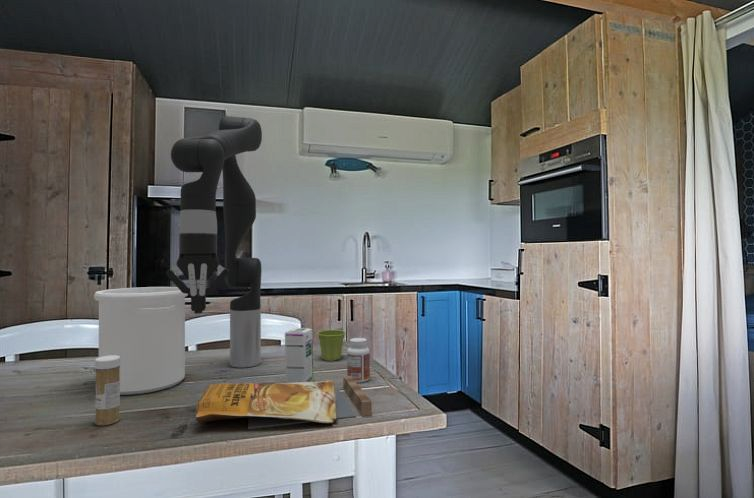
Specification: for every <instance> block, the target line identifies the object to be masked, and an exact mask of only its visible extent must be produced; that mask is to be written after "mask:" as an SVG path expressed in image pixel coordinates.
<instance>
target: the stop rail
mask: <svg viewBox="0 0 754 498" xmlns="http://www.w3.org/2000/svg"><path fill="white" fill-rule="evenodd" d="M342 379H343V381H342V382H343V386H342V388H343V390H344V391H345V393H346V394H347V396H348V397H349V399H350V400H351V401H352V403H353V405H354V406H355V408H356V409H357V410H358V412H359V413H360V415H361V416H362V417H369V416H372V413H373V411H372V407H373V405H372V403H373V402H372V401H371V399H370V398H369V396H368V395H367V394H366V393H365V392H364V390H363V389H362V388H361V386H360V385H359V384H358V383H356V382H355V380H354V379H353V378H352V377H351V376H347V375H346V376H342Z"/></svg>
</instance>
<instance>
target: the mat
mask: <svg viewBox="0 0 754 498" xmlns="http://www.w3.org/2000/svg"><path fill="white" fill-rule="evenodd" d="M335 394H336V410H337V419H336V420H341V419H352V418H356V416H357V415H356V414H355V413H354V411H353V410H352V408H351V406H350V404H349V403H348V401H347V400H346V398H345V397H344V395H343V394H342V392H341V390H340V389H339V388H338V386H337V387H335ZM247 422H248V423H247V430H251V429H262V428H270V427H278V426H279V427H280V426H288V425H298V424H304V423H305V424H307V423H315V422H314V421H308V420H300V419H285V418H278V417H262V416H255V417H247Z"/></svg>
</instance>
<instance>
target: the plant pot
mask: <svg viewBox="0 0 754 498" xmlns="http://www.w3.org/2000/svg"><path fill="white" fill-rule="evenodd" d="M346 332H347V331H345V330H341V329H325V330H320V331H318V332H316V335H317V337H318V339H319V344H320V346H319V347H320V351H321V352H320V353H321V359H322V360H324V361H327V362H335V361H336V360H338V361H339V360H341V359H342V352H343V351H342V350H343V344H344V339H345V335H346Z"/></svg>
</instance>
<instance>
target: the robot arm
mask: <svg viewBox="0 0 754 498" xmlns="http://www.w3.org/2000/svg"><path fill="white" fill-rule="evenodd" d="M262 133H263V131H262V126H261V124H260V122H259V121H258V120H257V119H254V118H251V117H240V116H228V115H225V116H222V117H221V118H220V120H219V123H218V130H213V131H211V132H208V133H206V134H203V135H198V136H189V137H183V138H180V139H178V140H177V141H176V142H175V143H174V144H173V145H172V147H171V149H170V159H171V162H172V164H173V165H174V167H175V168H176V169H177V170H179V171H181V172H184V173H201V175H200V177H199V178H198V179H196V180H195V181H191V182H187V183H183V185H182V186H181V188H180V212H179V213H180V214H179V220H178V222H179V223H178V225H179V226H178V232H179V233H178V236H179V237H178V242H179V243H178V245H179V247H178V249H179V250H178V252H179V253H178V258H177V261H176V265H174V266H173V267H171V268H170V269H167V271H166V272H165V274H166V276H167V277H168V278H169V279H170V280H171V282H173V284H174V285H175V287H178V288H179V289H180V291H181V292H182V293H186V294H188V295H189V296H190V309H191V311H192V312H194V313H193V314H199V315H200V314H203V312H204V311H205V310H206V308H207V298H206V297H207V295H208V294H211V293H213V292H214V291H216V289H218V286H219V285H221V283H222V282H223V280H225V284H226V286H227V287H228V288H250V290H249V291H248V292H247V293H245V294H244V295H242V296H239V297H237V298H234V299H232V300H231V301H230V303H229V366H230V367H232V368H250V367H251V368H252V367H255V366H258V365H261V363H262V359H261V357H262V356H261V355H262V354H261V351H262V349H261V348H262V347H261V346H262V344H261V341H262V340H261V339H262V338H261V337H262V335H261V333H262V327H261V326H262V323H261V321H262V318H261V317H262V313H261V312H262V311H261V307H262V305H261V291H262V289H261V287H262V262H261V259H259V258H258V257H237V256H236V255H237V251H238V249H239V247H240V245H241V243H242V241H243V239H244V238H245V237H246V235H247V234H248V232H249V231H250V230H251V228H252V227H253V224H254V223H255V221H256V217H257V199H256V195H255V192H254V190H253V188H252V186H251V185H250V183H249V182H248V181H247V179H246V177H245V176H244V174H243V172H242V171H241V169H240V167H239V164H238V161H237V156H236V155H240V154H243V153H246V152H255V151H257V150H259V148H260V147H261V144H262V140H263V139H262V137H263V134H262ZM221 175H222V193H223V194H222V200H223V201H222V203H223V204H222V205H223V206H222V207H223V220H224V221H223V222H224V223H223V224H224V239H225V244H224V245H225V247H224V249H225V250H224V251H225V252H224V258H225V259H224V267H223V266H222V265H221V264H220V260H219V258H218V220H217V211H216V210H217V209H216V206H217V201H216V199H217V197H216V196H217V189H218V185H219V181H220V179H221V178H220V177H221ZM216 270H217V272H216V276H217V277H216V279H215V280H214V281H213V282H212V283H211V285H210V286H209V287H207V285H208V279H210V278H211V276H213V274H214V273H215V271H216ZM180 272H181V273H182V274H183V275H184V277H185V278H186V279H188V281H189V282H188V283H189V287H188V285H186V284H185V283H184V281H183V279H181V278H180ZM198 280H199V290H198Z"/></svg>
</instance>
